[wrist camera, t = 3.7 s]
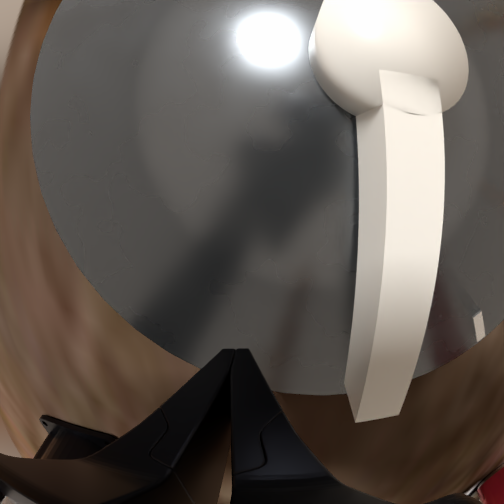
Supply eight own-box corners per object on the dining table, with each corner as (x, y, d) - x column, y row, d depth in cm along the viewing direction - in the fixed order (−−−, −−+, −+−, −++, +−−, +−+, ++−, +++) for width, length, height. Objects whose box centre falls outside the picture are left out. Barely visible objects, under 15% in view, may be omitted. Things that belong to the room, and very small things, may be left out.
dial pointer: (301, 2, 6) (309, -35, 4) (419, 19, 6) (449, -5, 4) (312, 385, 10) (319, 427, 8) (409, 372, 10) (427, 407, 8)
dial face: (96, 377, 12) (90, 386, 11) (76, -71, 5) (70, -76, 4) (531, 338, 10) (537, 344, 10) (502, -49, 3) (508, -53, 2)
